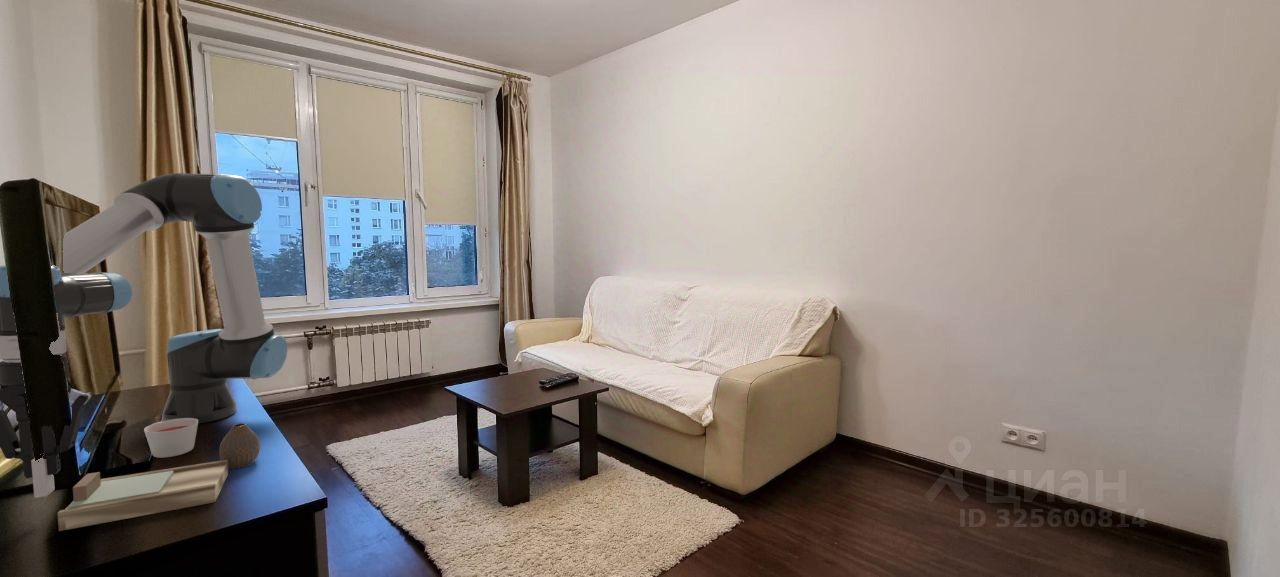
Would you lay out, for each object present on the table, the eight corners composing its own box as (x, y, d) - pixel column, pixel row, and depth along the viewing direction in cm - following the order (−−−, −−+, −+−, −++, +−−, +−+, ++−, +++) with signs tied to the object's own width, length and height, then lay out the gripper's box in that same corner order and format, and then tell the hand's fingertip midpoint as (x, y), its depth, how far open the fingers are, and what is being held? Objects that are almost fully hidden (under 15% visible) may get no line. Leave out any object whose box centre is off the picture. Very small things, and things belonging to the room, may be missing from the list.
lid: (91, 486, 94) (90, 470, 94) (173, 473, 100) (172, 457, 99) (67, 510, 86) (66, 492, 85) (158, 494, 91) (157, 477, 91)
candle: (137, 463, 110) (135, 434, 109) (156, 447, 118) (154, 420, 117) (191, 456, 113) (189, 428, 113) (205, 442, 122) (204, 416, 121)
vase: (238, 473, 106) (236, 432, 105) (211, 469, 107) (209, 429, 107) (268, 459, 113) (267, 420, 112) (242, 456, 114) (241, 418, 113)
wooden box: (91, 496, 95) (90, 480, 95) (228, 474, 105) (227, 459, 105) (58, 531, 84) (57, 513, 84) (215, 502, 94) (214, 485, 94)
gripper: (-41, 366, 79) (-27, 513, 81) (78, 358, 85) (89, 494, 88) (-13, 356, 85) (0, 492, 87) (97, 349, 92) (106, 476, 94)
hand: (44, 493), depth 87 cm, fingers closed
